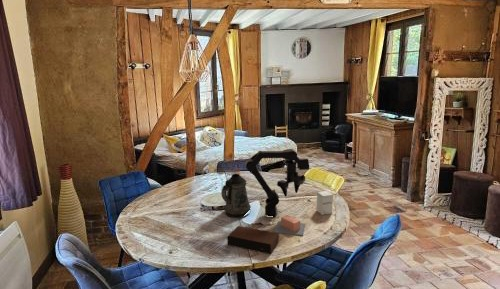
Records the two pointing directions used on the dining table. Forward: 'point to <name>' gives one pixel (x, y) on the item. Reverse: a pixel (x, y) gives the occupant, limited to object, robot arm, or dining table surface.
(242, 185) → the beer stein
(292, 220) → the brick-red block
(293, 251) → the dining table surface
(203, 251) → the dining table surface
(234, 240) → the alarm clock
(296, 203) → the dining table surface
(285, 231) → the rubber mat
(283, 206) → the dining table surface
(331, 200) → the supplement box
